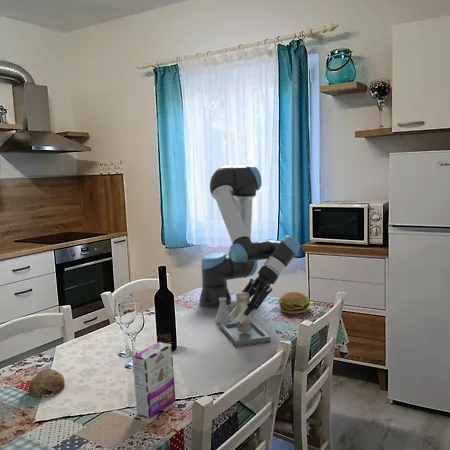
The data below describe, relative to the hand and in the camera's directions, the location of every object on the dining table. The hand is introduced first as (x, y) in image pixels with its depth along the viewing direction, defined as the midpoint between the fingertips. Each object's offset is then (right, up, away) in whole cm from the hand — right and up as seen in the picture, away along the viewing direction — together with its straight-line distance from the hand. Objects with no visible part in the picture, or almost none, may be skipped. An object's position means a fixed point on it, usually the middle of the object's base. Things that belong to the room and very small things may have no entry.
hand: (235, 319), depth 176 cm
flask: (-4, -5, +19) cm, 20 cm away
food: (+27, -2, +30) cm, 40 cm away
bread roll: (-57, -14, -36) cm, 69 cm away
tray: (+4, -7, +3) cm, 8 cm away
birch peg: (+3, -4, +2) cm, 6 cm away
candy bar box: (-23, -14, -49) cm, 55 cm away
